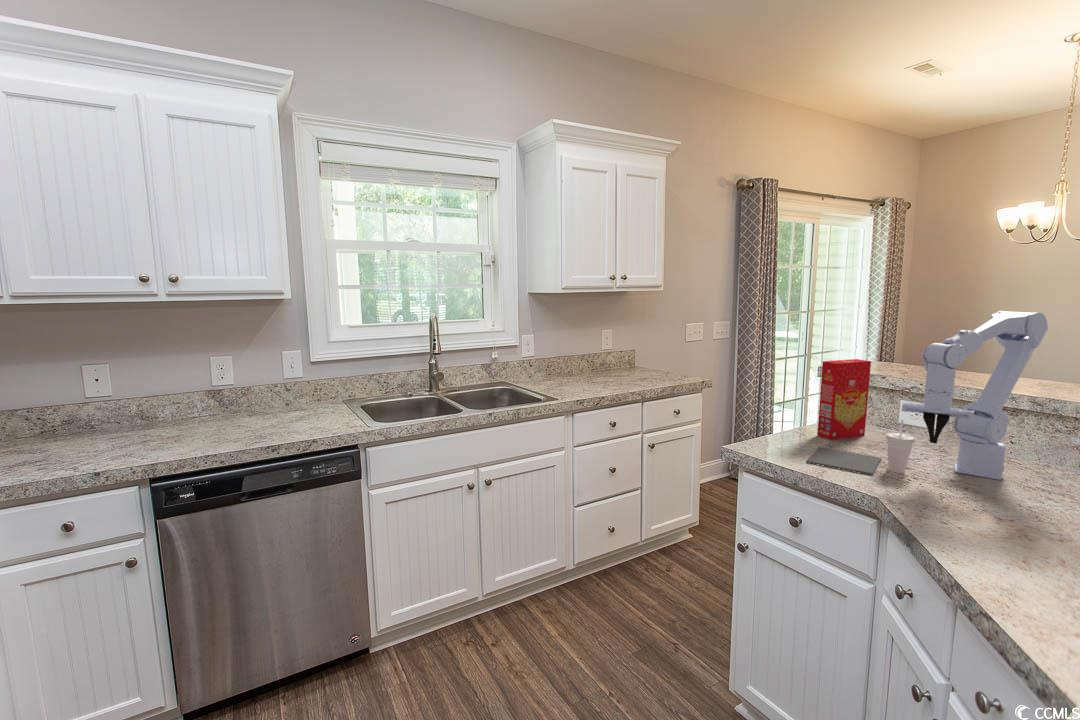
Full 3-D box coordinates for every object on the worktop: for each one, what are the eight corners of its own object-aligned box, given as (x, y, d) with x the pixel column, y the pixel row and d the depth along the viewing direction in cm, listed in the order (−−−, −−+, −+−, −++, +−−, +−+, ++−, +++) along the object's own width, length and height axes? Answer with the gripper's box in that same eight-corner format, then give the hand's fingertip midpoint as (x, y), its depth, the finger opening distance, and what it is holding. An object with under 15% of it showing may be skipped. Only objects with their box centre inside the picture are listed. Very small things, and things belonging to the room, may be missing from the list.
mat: (880, 459, 149) (881, 457, 149) (872, 475, 137) (872, 473, 137) (819, 448, 159) (819, 446, 159) (806, 462, 147) (806, 460, 147)
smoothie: (910, 469, 141) (915, 419, 139) (912, 476, 136) (918, 424, 134) (882, 465, 144) (887, 416, 142) (882, 472, 139) (888, 421, 137)
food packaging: (830, 439, 168) (836, 363, 164) (817, 435, 173) (822, 361, 169) (864, 435, 173) (871, 361, 169) (850, 431, 178) (856, 359, 174)
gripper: (902, 389, 134) (897, 440, 135) (976, 396, 124) (969, 451, 126) (905, 385, 139) (900, 434, 141) (975, 392, 130) (969, 444, 132)
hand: (933, 442), depth 134 cm, fingers closed
